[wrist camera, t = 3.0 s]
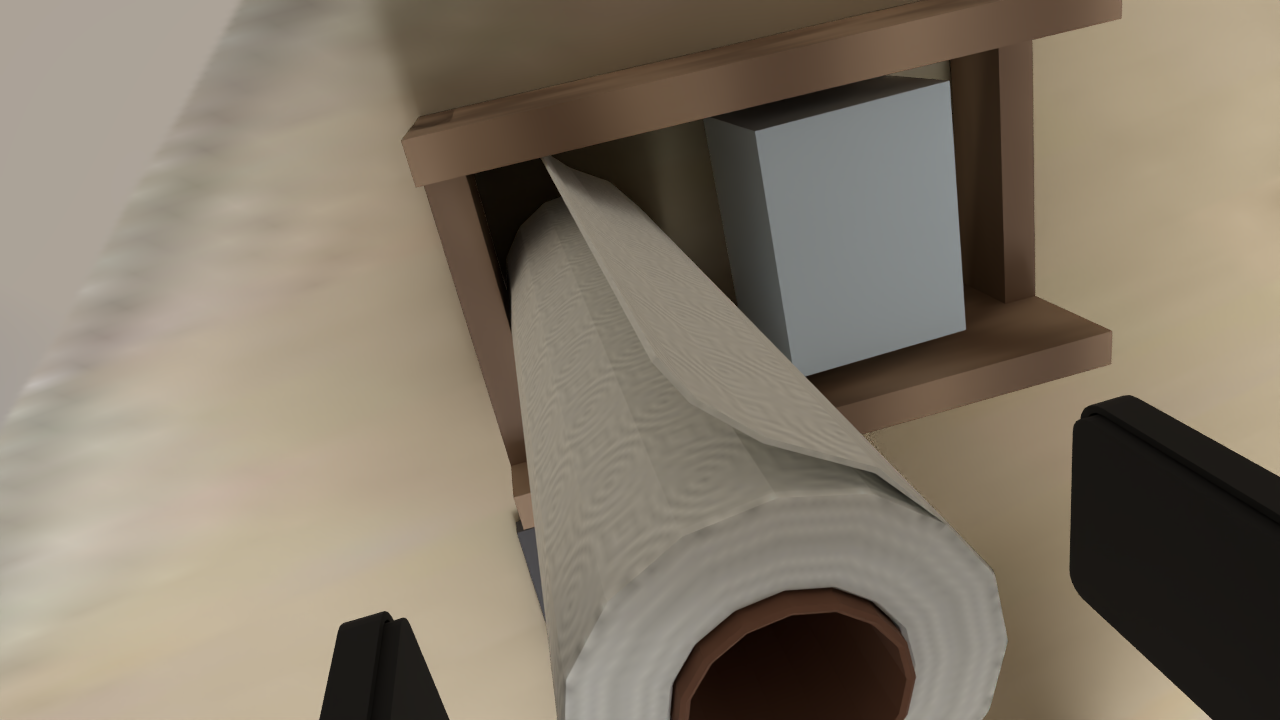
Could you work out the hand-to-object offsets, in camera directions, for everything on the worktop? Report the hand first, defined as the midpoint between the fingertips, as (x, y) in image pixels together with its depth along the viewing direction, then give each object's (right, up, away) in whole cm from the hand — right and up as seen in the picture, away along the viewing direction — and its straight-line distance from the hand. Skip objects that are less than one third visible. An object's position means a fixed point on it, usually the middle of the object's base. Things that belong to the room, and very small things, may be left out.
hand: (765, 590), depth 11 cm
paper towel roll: (-3, +7, +19) cm, 20 cm away
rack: (+2, +8, +19) cm, 21 cm away
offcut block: (+4, +9, +20) cm, 22 cm away
